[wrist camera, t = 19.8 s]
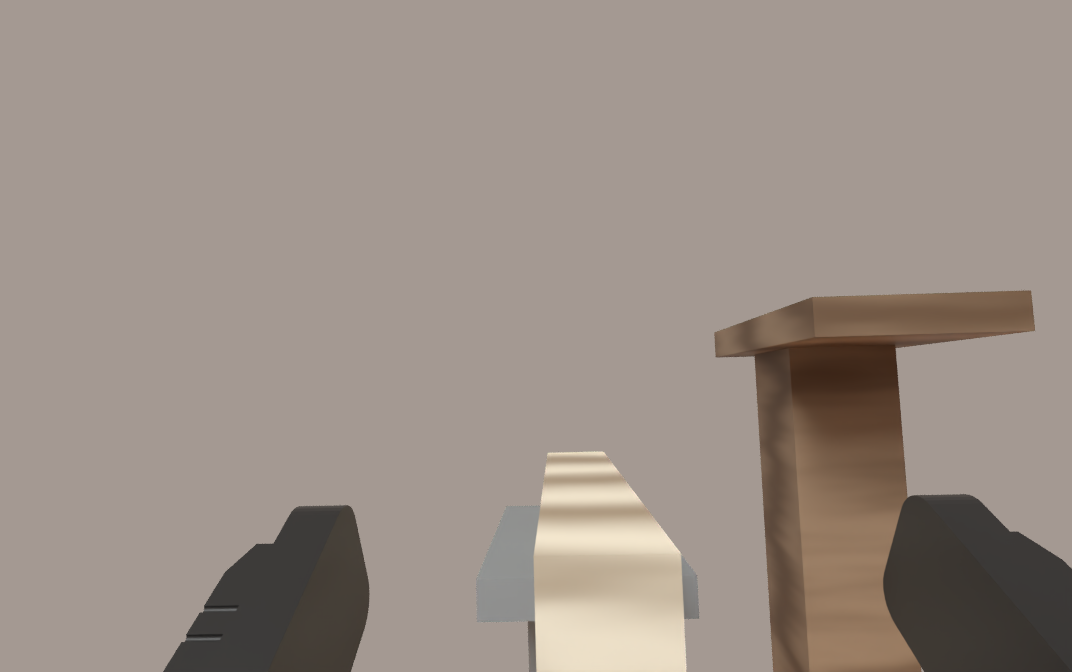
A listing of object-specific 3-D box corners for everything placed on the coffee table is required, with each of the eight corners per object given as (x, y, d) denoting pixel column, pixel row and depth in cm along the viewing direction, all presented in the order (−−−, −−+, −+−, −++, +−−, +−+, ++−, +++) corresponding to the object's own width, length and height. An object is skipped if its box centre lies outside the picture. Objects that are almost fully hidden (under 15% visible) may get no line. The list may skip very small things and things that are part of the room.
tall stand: (1161, 1269, 20) (1058, 289, 22) (847, 1265, 20) (785, 298, 23) (899, 889, 35) (857, 329, 37) (721, 890, 35) (694, 334, 38)
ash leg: (688, 708, 13) (680, 553, 13) (537, 710, 13) (533, 556, 13) (601, 498, 38) (599, 446, 38) (549, 499, 38) (548, 447, 38)
